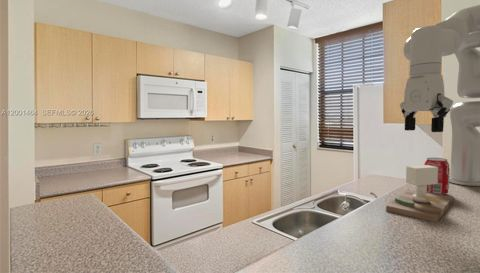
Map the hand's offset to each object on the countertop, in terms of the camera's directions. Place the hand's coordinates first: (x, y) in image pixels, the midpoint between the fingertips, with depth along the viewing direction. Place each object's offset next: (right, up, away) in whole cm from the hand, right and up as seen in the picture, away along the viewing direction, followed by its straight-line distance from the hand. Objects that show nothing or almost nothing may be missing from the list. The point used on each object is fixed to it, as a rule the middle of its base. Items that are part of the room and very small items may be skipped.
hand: (422, 131), depth 78 cm
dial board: (+1, -23, +2) cm, 23 cm away
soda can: (+14, -21, +14) cm, 29 cm away
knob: (+1, -21, 0) cm, 21 cm away
